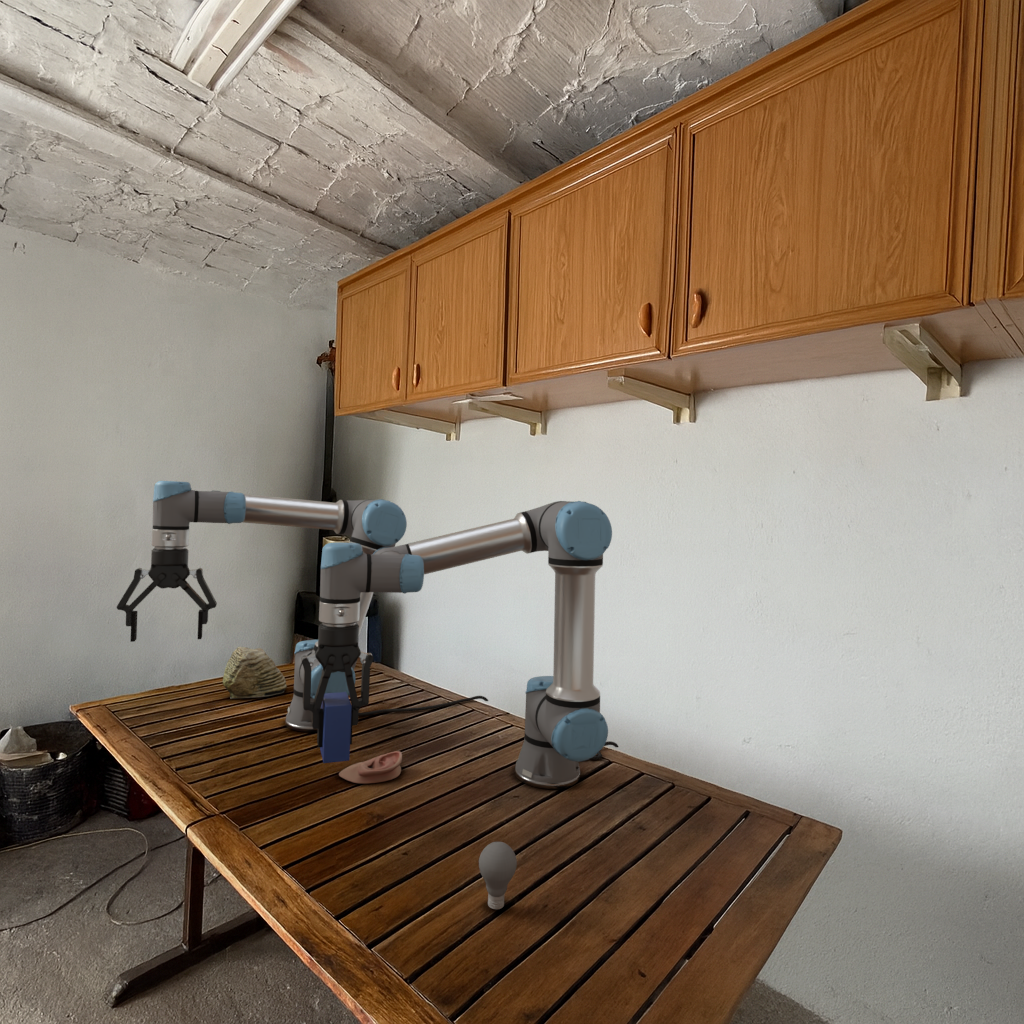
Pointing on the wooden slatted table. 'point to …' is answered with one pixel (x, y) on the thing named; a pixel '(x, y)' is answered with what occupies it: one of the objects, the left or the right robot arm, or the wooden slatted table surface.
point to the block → (336, 727)
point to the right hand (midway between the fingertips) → (334, 743)
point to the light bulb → (497, 871)
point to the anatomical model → (374, 769)
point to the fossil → (252, 674)
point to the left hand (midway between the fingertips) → (167, 639)
